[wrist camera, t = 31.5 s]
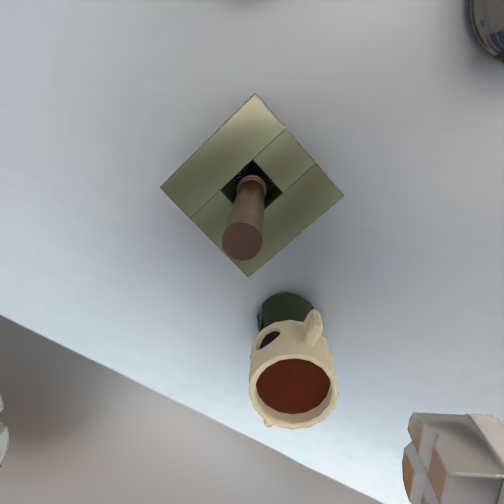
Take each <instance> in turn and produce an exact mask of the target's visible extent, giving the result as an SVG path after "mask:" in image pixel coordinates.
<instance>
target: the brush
mask: <svg viewBox="0 0 504 504" xmlns="http://www.w3.org/2000/svg"><path fill="white" fill-rule="evenodd" d="M266 194H267V175H266V174H265V173H264V171H263V170H262V169H261V168H260V167H259V166H258V165H257V164H256V163H250V164H248V165H247V166H246V167H245V168H244V170H243V172H242V175H241V177H240V180H239V182H238V185H237V195H236V198H235V201H234V204H233V207H232V209H231V212H230V215H229V218H228V221H227V223H226V226H225V229H224V232H223V234H222V240H221V241H222V247H223V249H224V251H225V252H226V254H227V255H228V256H230V257H231V258H233V259H235V260H239V261H245V260H250V259H252V258H254V257H255V256H256V255H257V254H258V253H259V252H260V250H261V248H262V243H263V219H264V198H265V197H266Z"/></svg>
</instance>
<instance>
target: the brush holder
mask: <svg viewBox="0 0 504 504" xmlns="http://www.w3.org/2000/svg"><path fill="white" fill-rule="evenodd" d="M252 160H254V162H255V163H256V164H257V165H258V166H259V167H260V168H261V169H262V170H263V171H264V173H265V174H266V175H267V176H268V177H269V178H270V179H271V180H272V181H273V182H272V183H271V184H270V185H269V186H268V187H267V194H266V197H265V198H264V219H263V243H262V248H261V250H260V252H259V253H258V254H257V255H256V256H255V257H254V258H252V259H250V260H245V261H239V260H235V259H233V258H231V257H230V256H228V255H227V254H226V252H225V251H224V249H223V247H222V241H221V240H222V234H223V232H224V229H225V226H226V223H227V221H228V218H229V215H230V212H231V209H232V207H233V204H234V201H235V198H236V195H237V185H238V182H237V181H236V180H235V179H234V177H235V176H236V175H237V174H238V173H239V172H240V171H241V170H242V169H243V168H244V167H245V166H246V165H247V164H248V163H250V162H251V161H252ZM160 188H161V189H162V190H163V191H164V192H165V193H166V194H167V195H168V196H169V198H170V199H171V200H172V201H173V202H174V203H175V204H176V205H177V206H178V207H179V208H180V209H181V210H182V211H183V212H184V213H185V214H186V215H187V216H188V217H189V218H190V219H191V220H192V221H193V222H194V223H195V224H196V225H197V226H198V227H199V228H200V229H201V230H202V231H203V232H204V233H205V234H206V235H207V236H208V237H209V238H210V239H211V240H212V241H213V242H214V243H215V244H216V245H217V246H218V247H219V248H221V250H222V251H223V252H224V253H225V254H226V255H227V256H228V257H229V258H230V259H231V260H232V261H233V262H234V263H235V264H236V265H237V267H238V268H239V269H240V270H241V271H242V272H243V273H244V274H245V275H246V276H247V277H249V276H250V275H252V274H253V273H254V272H255V271H256V270H257V269H259V268H260V267H261V266H262V265H263V264H265V263H266V262H267V261H268V260H269V259H270V258H272V257H273V256H274V255H275V254H276V253H277V252H279V251H280V250H281V249H282V248H283V247H284V246H286V245H287V244H288V243H289V242H290V241H291V240H293V239H294V238H295V237H296V236H297V235H298V234H300V233H301V232H302V231H303V230H304V229H305V228H307V227H308V226H309V225H310V224H311V223H312V222H314V221H315V220H316V219H317V218H318V217H319V216H321V215H322V214H323V213H324V212H325V211H327V210H328V209H329V208H330V207H331V206H332V205H334V204H335V203H336V202H337V201H338V200H339V199H341V198H342V197H343V196H344V195H343V194H342V192H341V191H340V190H339V189H338V188H337V187H336V186H335V184H334V183H333V182H332V181H331V180H330V179H329V178H328V176H327V175H326V174H325V173H324V172H323V171H322V170H321V168H320V167H319V166H318V165H317V164H316V163H315V161H314V160H313V159H312V158H311V157H310V156H309V155H308V153H307V152H306V151H305V150H304V149H303V148H302V147H301V145H300V144H299V143H298V142H297V141H296V140H295V139H294V137H293V136H292V135H291V134H290V133H289V132H288V130H287V129H286V128H285V127H284V126H283V125H282V124H281V122H280V121H279V120H278V119H277V118H276V117H275V116H274V114H273V113H272V112H271V111H270V110H269V109H268V108H267V106H266V105H265V104H264V103H263V102H262V101H261V99H260V98H259V97H258V96H257V95H256V94H254V95H253V96H252V97H251V98H250V99H249V100H248V101H247V102H246V103H245V104H244V105H243V106H242V107H241V108H240V109H239V110H238V111H237V112H236V113H235V114H234V115H233V116H232V117H231V118H230V119H229V120H228V121H227V122H226V123H225V124H223V125H222V126H221V127H220V128H219V129H218V130H217V131H216V132H215V133H214V134H213V135H212V136H211V137H210V138H209V139H208V140H207V141H206V142H205V143H204V144H203V145H202V146H201V147H200V148H199V149H198V150H197V151H196V152H195V153H194V154H193V155H192V156H191V157H190V158H189V159H188V160H187V161H186V162H185V163H184V164H183V165H182V166H181V167H180V168H179V169H178V170H177V171H176V172H175V173H174V174H173V175H172V176H171V177H170V178H169V179H168V180H167V181H166V182H165V183H164V184H163V185H162V186H161V187H160Z"/></svg>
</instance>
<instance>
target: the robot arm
mask: <svg viewBox="0 0 504 504" xmlns="http://www.w3.org/2000/svg"><path fill="white" fill-rule="evenodd" d="M3 409H4V405H3V400H2V396H1V393H0V413H1V412H2V410H3ZM408 432H409V434H410V436H411V439H412V442H411V443H410V444H408V445H407V446H406V447H405V448H404V454H403V461H402V469H403V481H404V485H405V490H406V493H407V496H408V499H409V501H410V502H411V503H412V504H504V426H503V424H502V423H501V422H500V421H499V419H498V418H496V417H495V416H493V415H482V414H465V415H455V414H435V413H414V412H413V414H412V416H411V418H410V421H409V426H408ZM8 440H9V435H8V428H7V426H6V425H5V424H4V423H3V421H2V420H1V419H0V467H1V465H2V463H3V460H4V458H5V455H6V452H7V450H8Z"/></svg>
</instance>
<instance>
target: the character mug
mask: <svg viewBox="0 0 504 504" xmlns="http://www.w3.org/2000/svg"><path fill="white" fill-rule="evenodd" d="M257 320H258V329H259V333H258V335H257V336H256V338H255V340H254V342H253V345H252V350H251V356H250V359H251V365H250V374H249V395H250V398H251V402H252V405H253V407H254V408H255V410H256V411H257V412H258V413H259V415H260V416H261V417H262V418H263V419H264V424H265V425H266V426H267V427H272V426H273V425H275V426H277V427H282V428H288V429H299V428H306V427H310V426H312V425H314V424H316V423H318V422H320V421H322V420H324V419H325V418H326V417H327V416H328V415H329V414H330V412H331V411H332V410H333V409H334V408H335V405H336V401H337V398H338V394H339V391H338V385H337V379H336V373H335V369H334V366H333V362H332V358H331V354H330V350H329V346H328V342H327V341H326V340H325V338H324V337H323V335H322V334H321V333H322V331H323V322H322V318H321V314H320V313H319V312H318V310H316V309H314V308H313V307H312V305H311V303H309V302H308V301H306V300H305V299H303V298H302V297H300V296H298V295H293V294H289V293H283V294H279V295H275V296H272V297H271V298H269V299H268V300H267V301H265V302H264V303H263V304H262V324H261V325H260V320H259V314H258V315H257Z"/></svg>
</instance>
